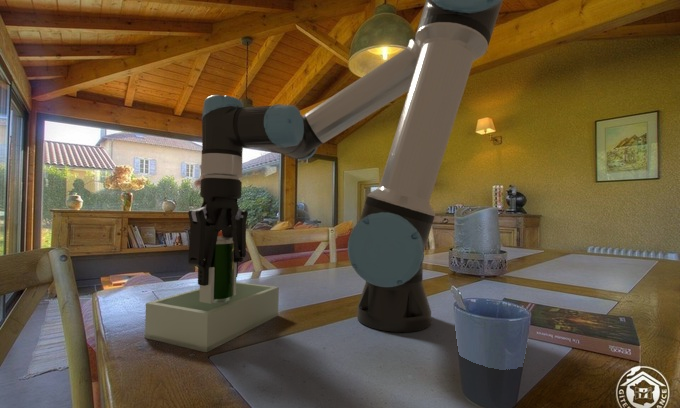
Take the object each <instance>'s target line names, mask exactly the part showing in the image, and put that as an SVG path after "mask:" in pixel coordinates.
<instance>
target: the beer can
mask: <svg viewBox="0 0 680 408" xmlns="http://www.w3.org/2000/svg"><path fill="white" fill-rule="evenodd" d="M204 260H205V259H204ZM233 265H234V241H233V237H224V236H223V235H222V236H221V235H220V236H219V235H218V237H217V241H216V246H215V250H214V255H213V259H212V263H211V266H210V267H215V271H214V303H221V302H226V301H229V300H231V298H232V296H233Z"/></svg>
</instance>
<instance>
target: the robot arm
mask: <svg viewBox="0 0 680 408" xmlns="http://www.w3.org/2000/svg"><path fill="white" fill-rule="evenodd" d="M503 1H504V0H425V2H424V6H423V8H422V9H423V10H422V13H421V17H420V18H419V19H420V20H419V23H418V27H417V31H416V33H415V36H413V37H412V38H411V39H409V41H408V45H407V47H406V48H405V49H403V50H402V51H400V52H398V53H397V54H396V55H394V56H393V57H390V58H388V60H386V61H384V62H383V63H382V64H380V65H378V66H377V67H375V68H374V69H372V70H370V71H369V72H368V73H366V74H365V75H363V76H361V77H360V78H359V79H357V80H355V81H354V82H352V83H351V84H349V85H347V86H346V87H345V88H343V89H342V90H340V91H337V93H335V94H334V95H332V96H330V97H329V98H328V99H326V100H324V101H323V102H322V103H320V104H319V105H317V106H315V107H314V108H312V109H311V110H309V111H307V112H306V113H304V114H303V115H302V114H301V111H300V109H299V108H298V107H297V106H296V105H292V104H291V105H290V104H288V105H287V104H273V105H263V106H250V107H244V103H243V102H242V100H241V99H239V98H237V97H234V96H231V95H221V94H213V95H209V96H207V97H206V98H205V99H204V101H203V106H202V115H201V116H202V117H201V138H202V139H201V143H202V145H201V148H202V149H201V158H200V159H201V161H200V165H201V166H200V174H201V176H202V177H204V178H202V179H200V194H199V195H200V197H201V198H202V204H201V205H200V207H199V208H197V209H190V210H188V218H189V222H190V224H189V226H190V227H189V243H188V258H187V259H188V264H189V265H191V266H193V267H197V284H198V286H199V288H200V298H199V302H204V303H210V304H211V303H214V271H215V267H210V266H211V263H212V259H213V255H214V250H215V246H216V241H217V237H218V236H219V232H221V233H222V234H221V235H222V236H224V237H233V241H234V265H233V296H234V295H236V282H237V278H238V275H239V273H238V271H239V270H238V269H239V263H242V262H243V261H244V258H246V256H247V253H246V252H247V219H248V216H249V215H248V210H244V209H241V208H239V204H238V200H239V199H241V198H242V190H243V189H242V181H241V178H242V177H243V150H244V148H246V149H249V148H250V149H251V148H267V149H270V150H273V151H275V152H278V153H280V154H283V155H285V156H287V157H288V158H290V159H294V160H301V161H305V160H308V159H310V158H312V157H313V156H314V155H315V154H316V153H317V150H318V148H319V147H320V146H321V145H323V144H325V143H326V142H328V141H329V140H331V139H333V138H334V137H336V136H338V135H339V134H342V132H344V131H346V130H347V129H349V128H351V127H352V126H354V125H356V124H357V123H358V122H360V121H362V120H363V119H365V118H367V117H369V116H370V115H372V114H374V113H375V112H377V111H379V110H381V109H382V108H384V107H385V106H386V105H388V104H390V103H392V102H393V101H395V100H397V99H398V98H400V97H401V96H403V95H404V94H406V93H407V95H406V98H405V102H404V104H403V108H402V111H401V114H400V117H399V121H398V124H397V128H396V131H395V133H394V137H393V140H392V144H391V146H390V150H389V153H388V157H387V160H386V163H385V167H384V169H383V173H382V177H381V180H380V183H379V185H378V186H379V187H377V188H376V189H374V190H373V191H371V192H369V193H367V195H366V199H365V202H364V205H363V208H362V211H361V215H360V218H359V220H358V221H357V223H356V224H355V226H353V229H352V230H351V232H350V234H349V237H348V242H347V255H348V259H349V263H350V265H351V266H352V269H354V271H355V272H356V274H357V275H358V276H359V277H360V278H361V279H362V280H363V281H365V284H364V285H363V289H362V292H361V295H360V297H359V301H358V304H357V307H356V308H357V309H356V310H357V311H356V318H357V320H358V321H359V323H361V324H362V325H364V326H367V327H369V328H372V329H374V330H380V331H383V332H384V331H385V332H392V333H408V332H417V331H420V330H425V329H427V328H429V327H430V325H431V324H432V311H431V307H430V303H429V300H428V297H427V295H426V290H425V287H424V284H423V283H424V282H423V280H424V279H423V273H424V271H423V270H424V266H423V265H424V260H425V254H424V253H425V249H426V245H427V242H428V239H429V237H430V232H431V231H432V226H433V224H434V220H435V217H436V213H435V211H434V210H433V207H432V206H431V202H430V200H431V197H432V196H433V195H432V194H433V191H434V188H435V185H436V182H437V178H438V175H439V172H440V168H441V165H442V162H443V159H444V156H445V152H446V149H447V146H448V143H449V140H450V136H451V134H452V130H453V127H454V123H455V120H456V118H457V114H458V110H459V107H460V105H461V102H462V98H463V95H464V91H465V89H466V85H467V84H468V83H467V82H468V79H469V75H470V74H471V69H472V66H473V63H474V61H477V60H478V59H480V58H482V57H483V56H484V55H485V54H486V53H487V51H488V47H489V44H490V41H491V39H492V35H493V33H494V29H495V26H496V23H497V19H498V16H499V14H500V13H499V12H500V11H501V8H502V4H503ZM204 259H205V260H204Z"/></svg>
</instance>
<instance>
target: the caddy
mask: <svg viewBox="0 0 680 408" xmlns="http://www.w3.org/2000/svg"><path fill="white" fill-rule="evenodd" d="M279 293H280V287H279V286H273V285H265V284H256V283H247V282H241V281H236V295H234V296H232V298H231V300H229V301H226V302H221V303H211V304H210V303H204V302H199V298H200V287H199V288H196V289H192V290H189V291H185V292H181V293H177V294H175V295H170V296H166V297H163V298H159V299H157V300H152V301H149V302H146V303H145V315H144V316H145V320H144V322H145V323H144V326H145V327H144V328H145V329H144V338H145V339H148V340H152V341H157V342H162V343H163V344H169V345H174V346H178V347H182V348H186V349H189V350H195V351H199V352H203V353H209V352H211V351H213V350H214V349H216V348H218V347H220V346H222V345H224V344H227V343H228V342H229V341H232V340H234V339H236V338H238V337H239V336H241V335H243V334H245V333H247V332H249V331H251V330H253V329H255V328H257V327H259V326H261V325H264V324H265V323H266V322H268V321H270V320H272V319H274V318H276V317H278V316H279Z"/></svg>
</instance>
